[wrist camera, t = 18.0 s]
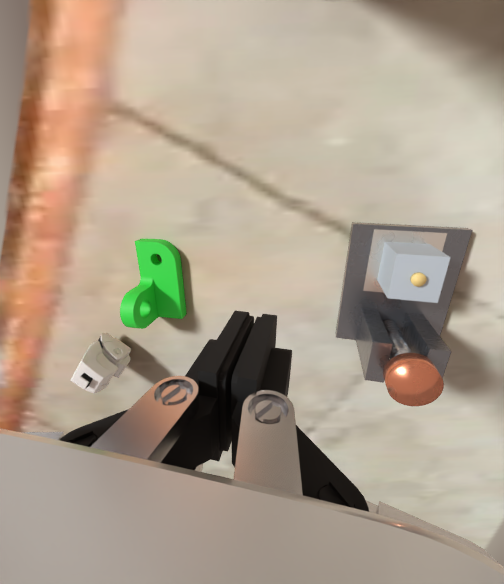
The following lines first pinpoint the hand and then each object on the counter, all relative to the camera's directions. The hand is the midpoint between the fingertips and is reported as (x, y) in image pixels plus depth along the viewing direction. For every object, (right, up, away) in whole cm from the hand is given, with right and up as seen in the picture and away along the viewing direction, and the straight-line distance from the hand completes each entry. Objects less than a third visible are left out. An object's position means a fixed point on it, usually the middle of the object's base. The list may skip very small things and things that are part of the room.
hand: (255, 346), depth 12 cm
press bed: (+19, +3, +27) cm, 33 cm away
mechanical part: (-14, +5, +34) cm, 37 cm away
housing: (+18, +6, +24) cm, 31 cm away
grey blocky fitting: (-24, -8, +41) cm, 48 cm away
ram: (+18, -3, +28) cm, 33 cm away
